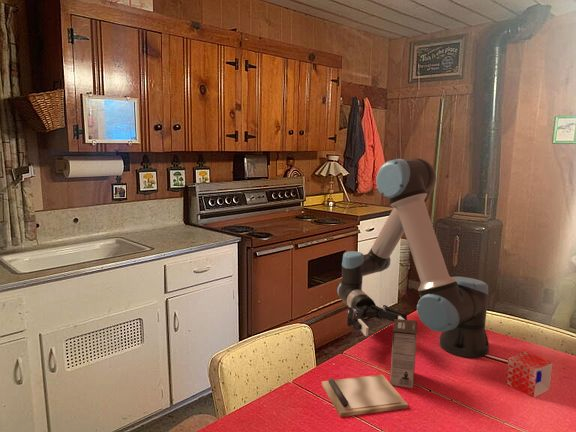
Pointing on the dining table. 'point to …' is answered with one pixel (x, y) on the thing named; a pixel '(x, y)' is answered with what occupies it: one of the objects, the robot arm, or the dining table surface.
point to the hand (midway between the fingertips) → (388, 330)
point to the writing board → (363, 395)
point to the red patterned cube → (528, 373)
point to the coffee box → (403, 353)
